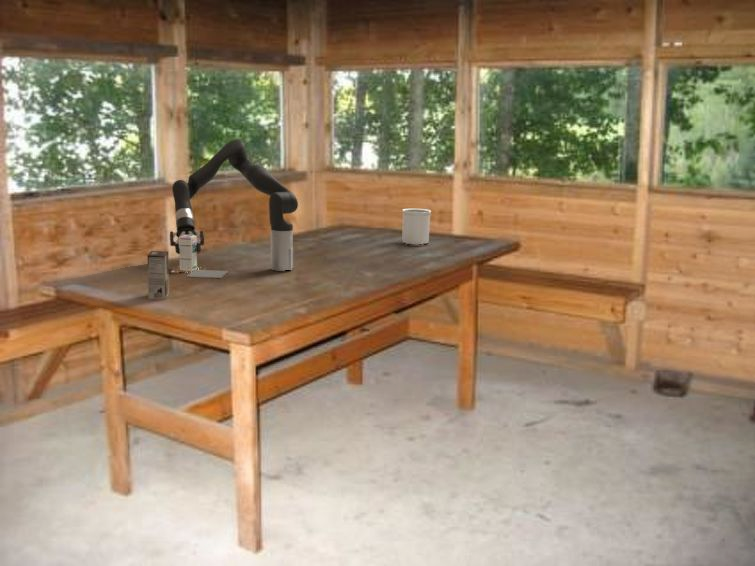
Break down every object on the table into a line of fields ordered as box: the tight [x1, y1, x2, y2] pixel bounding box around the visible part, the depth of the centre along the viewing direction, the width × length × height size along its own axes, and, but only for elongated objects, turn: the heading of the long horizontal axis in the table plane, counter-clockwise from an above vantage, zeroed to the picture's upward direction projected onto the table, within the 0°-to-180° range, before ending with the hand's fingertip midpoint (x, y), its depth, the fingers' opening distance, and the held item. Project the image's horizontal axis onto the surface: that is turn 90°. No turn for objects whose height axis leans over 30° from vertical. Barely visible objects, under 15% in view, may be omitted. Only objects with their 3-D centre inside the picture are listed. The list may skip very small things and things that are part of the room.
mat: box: [186, 269, 229, 280], centre depth 358 cm, size 14×14×1 cm
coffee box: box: [147, 250, 170, 300], centre depth 315 cm, size 9×6×16 cm
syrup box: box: [178, 235, 198, 271], centre depth 365 cm, size 6×6×14 cm
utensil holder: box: [401, 207, 432, 244], centre depth 454 cm, size 15×15×18 cm
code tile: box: [170, 266, 200, 274], centre depth 366 cm, size 12×12×1 cm
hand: (188, 252), depth 363 cm, fingers closed on syrup box, 7 cm apart
